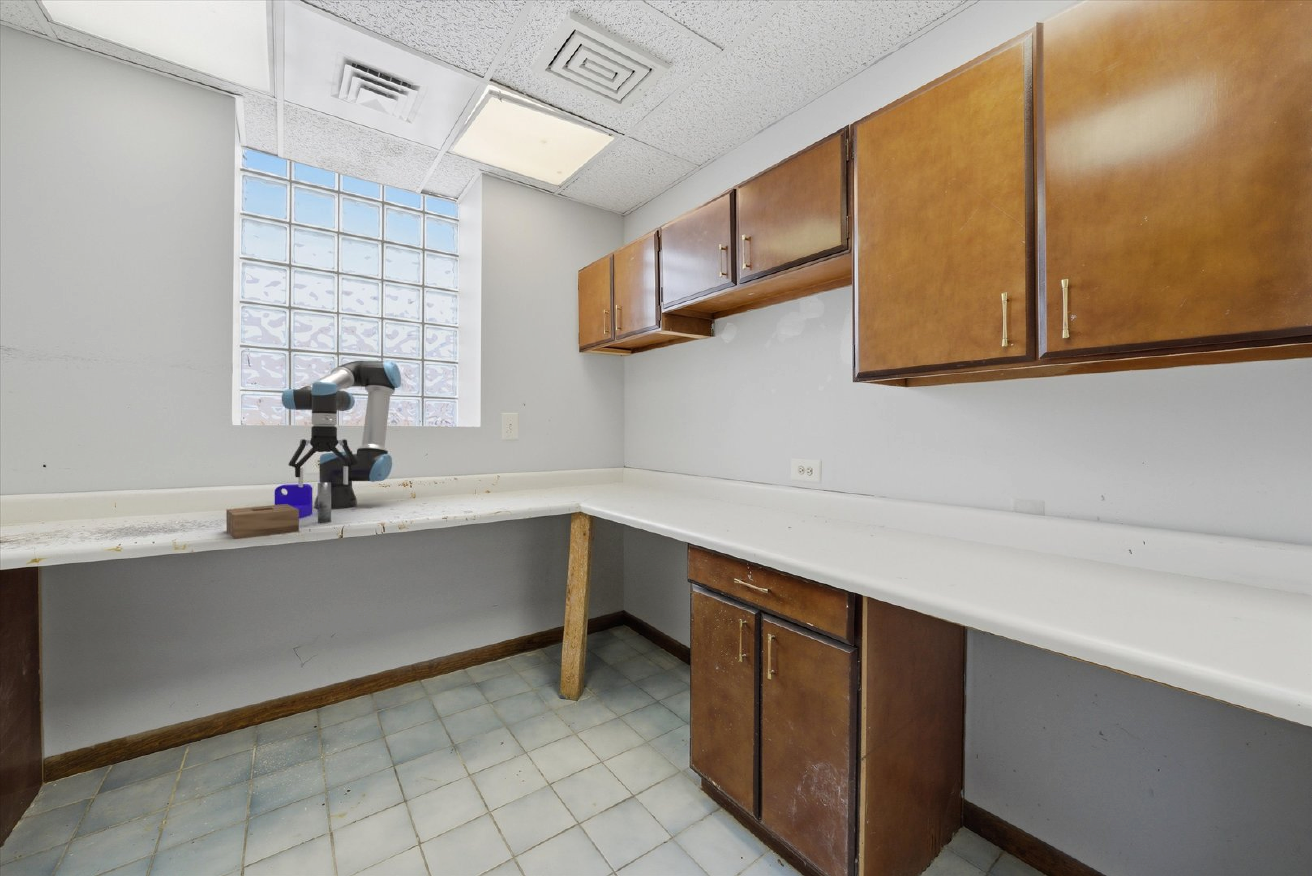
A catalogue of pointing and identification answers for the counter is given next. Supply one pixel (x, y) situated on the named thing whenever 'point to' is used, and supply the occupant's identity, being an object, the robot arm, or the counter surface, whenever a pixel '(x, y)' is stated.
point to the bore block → (262, 520)
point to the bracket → (296, 498)
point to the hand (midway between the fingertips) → (323, 485)
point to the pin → (324, 502)
